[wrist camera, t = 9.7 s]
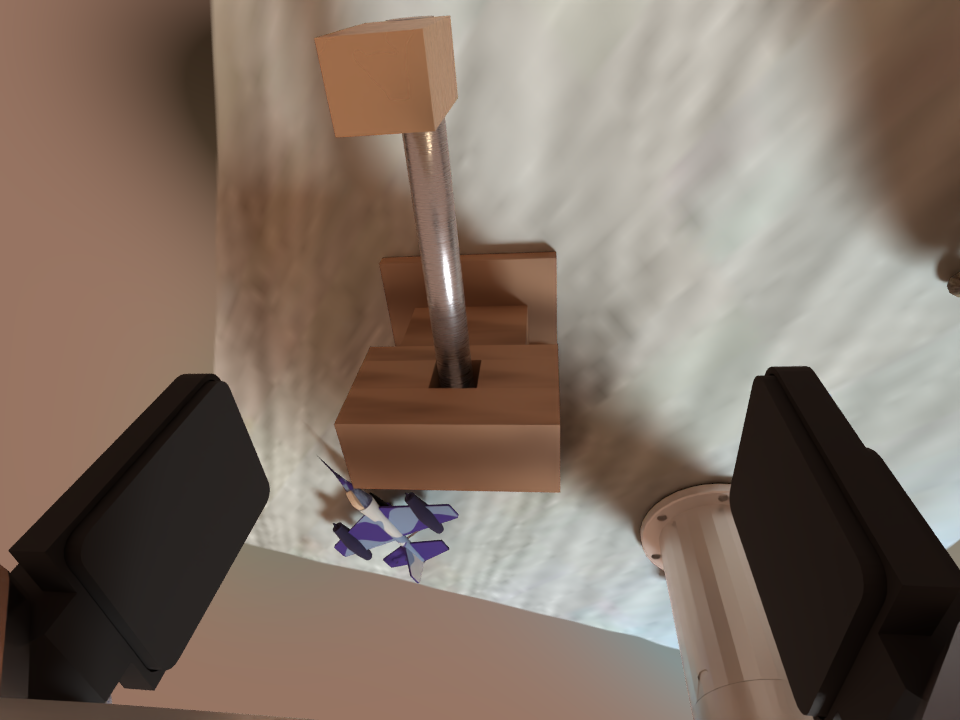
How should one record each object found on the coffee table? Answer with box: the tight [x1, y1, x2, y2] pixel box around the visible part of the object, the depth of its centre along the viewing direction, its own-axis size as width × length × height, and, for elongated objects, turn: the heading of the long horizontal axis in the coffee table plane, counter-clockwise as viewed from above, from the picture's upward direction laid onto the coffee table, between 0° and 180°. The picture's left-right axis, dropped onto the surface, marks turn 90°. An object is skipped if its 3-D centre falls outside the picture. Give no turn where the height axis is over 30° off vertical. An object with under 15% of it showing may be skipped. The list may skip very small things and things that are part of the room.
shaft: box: [314, 16, 474, 388], centre depth 27 cm, size 22×4×8 cm, turn 5°
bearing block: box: [334, 252, 560, 492], centre depth 35 cm, size 8×12×14 cm
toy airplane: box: [322, 460, 458, 583], centre depth 52 cm, size 13×14×4 cm
